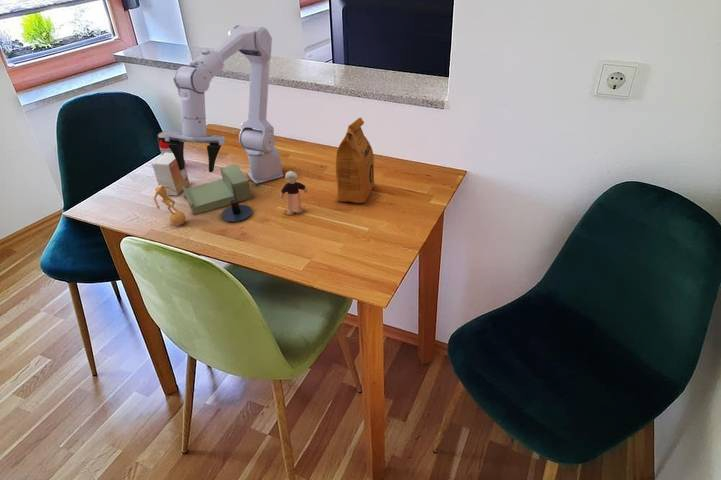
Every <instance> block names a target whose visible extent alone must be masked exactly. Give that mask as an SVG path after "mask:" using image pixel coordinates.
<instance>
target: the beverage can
mask: <svg viewBox="0 0 721 480" xmlns="http://www.w3.org/2000/svg"><path fill="white" fill-rule="evenodd" d="M167 132H171V133H175V131H173V130H164V131H161V132H159V133H157V144H158V148H159V151H160V154H161V156H162V155H163V154H164V153H166V152H167V153H172V151H171V149H170V148H169V146H168V144H169V142H170V141H165V133H167ZM184 164H185V165H186V162H185V160H184Z"/></svg>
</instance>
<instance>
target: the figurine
mask: <svg viewBox="0 0 721 480" xmlns="http://www.w3.org/2000/svg"><path fill="white" fill-rule="evenodd" d="M167 188H169V189H171V190H172V191H174V192H176V191H175V190H174V189H172V188H170V187H169V186H163V185H161V186H159V185H158V186H156V187H155V194H154V196H153V201H154V203H155V205H156V208H157V210H160V208H161V206H160V205H159V203H158V200H157V197H158V196H160V197H161V198H162V200H161V202H162V203H163V204H164V205H166V206H167V207H166V208H167V210H168V211H169V213H170V215H169V221H170V222H171V224H173V225H175V226H181V225H183V224H184V223H185V222H186V214H185V213H184V212H183V211H181V210H179V209H176V207H175V204H176V201H175V200H174V199H173V198H172V197H171V195H167V191H166V189H167ZM176 193H177V192H176ZM177 194H178V193H177ZM171 208H172V209H173V210H172V209H171Z"/></svg>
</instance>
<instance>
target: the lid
mask: <svg viewBox="0 0 721 480" xmlns="http://www.w3.org/2000/svg"><path fill="white" fill-rule="evenodd" d="M229 205H230V206H229V207H227V208H225V209H224V210H223V211H222V212H221V218H222V220H223V221H224V222H226V223H230V224H236V223H240V222H241V223H242V222H244V221H247V220H248V219H249V218H251V216H252V214H253V210H252V208H251V207H250V206H248V205H245V204H240V201H239V202H238V200H237V199H233V200H231V201H230V204H229Z"/></svg>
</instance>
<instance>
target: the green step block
mask: <svg viewBox="0 0 721 480" xmlns="http://www.w3.org/2000/svg"><path fill="white" fill-rule="evenodd" d="M219 169H220V174H221V177H222V178H220V179H217V180H213V181H210V182H206V183H202V184H199V185H193V186H191V187H188V188H187V187H186V188H185V186H183V190H182V191H183V193H184V197H185V198H187V201H188V202H189V205H190V207H191V209H192V213H193V215H198V214H201V213H204V212H208V211H212V210H215V209H219V208H221V207H226V206H229V205H231V204H230V201H231V200H233V199H237V200H238V202H239V203H240V202H244V201H246V200H250V199H252V198H253V197H252V192H251V187H250V183H249V179H248V178H247V176H246V175H245V174H244V172H242V170H241V169H240V167H239V166H238V165H237V163H235V164H232V165H227V166H224V167H221V168H219Z"/></svg>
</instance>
